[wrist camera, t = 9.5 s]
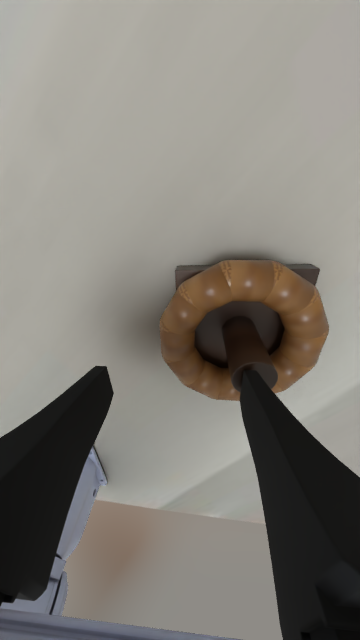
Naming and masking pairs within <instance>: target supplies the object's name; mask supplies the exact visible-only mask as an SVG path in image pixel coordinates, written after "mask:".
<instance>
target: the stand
mask: <svg viewBox="0 0 360 640" xmlns="http://www.w3.org/2000/svg"><path fill="white" fill-rule="evenodd" d="M212 266H213V265H208V266H177V267H176V270H175V277H176V291H177V289H178V287H179V286H180V285H181V284H182V283H183V282H184V281H186V280H188V279H190V278H191V277H193V276H195V275H197V274H199V273H201V272H202V271H204V270H206V269H208V268H210V267H212ZM284 266H286V267H287V268H289V269H290V270H292V271H293V272H295V273H296V274H298V275H299V276H301V277H302V278H304V279H306V280H307V281H309V282H310V283H312V284H313V285H314V286H315V284H316V281H317V278H318V274H319V271H320V269H319V268H317V267H315V266H313V265H311V264H287V265H284ZM284 329H285V328H284V326H283V324H282V321H281V319H280V316H279V314H278V312H276V311H274V310H273V309H271V308H269V307H268V306H266V305H264V304H262V303H261V302H247V301H231V302H229V303H227V304H225V305H223V306H221V307H219V308H216V309H214V310H212V311H210V312H208V313H207V314H206V315H205V317H204V318H203V319H202V321H201V322H200V324H199V325H198V326H197V328H196V329H195V343H194V346H195V348H196V349H197V351H198V352H199V354H200V355H201V357H202V358H203V359H204V360H206V361H208V362H210V363H212V364H214V365H216V366H218V367H220V368H229V372H230V378H231V383H232V385H233V387H234V388H235V389H236V390H237V391H238V392H240V393H241V386H242V380H243V373H244V370H256V371H257V372H258V373H259V374H260V375H261V377H262V378H263V379H264V381H265V382H266V383H267V385H268V386H269V387H270V388H271V389H272V388H273V387H274V386H275V385H276V383H277V381H278V373H277V371H276V369H275V367H274V364H273V362H272V360H271V358H270V355H271V354H272V353H273V352H274V351H275V350H276V349H277V348H278V347H279V346H280V344H281V340H282V336H283V333H284Z"/></svg>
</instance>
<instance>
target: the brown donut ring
mask: <svg viewBox="0 0 360 640" xmlns="http://www.w3.org/2000/svg"><path fill="white" fill-rule="evenodd" d="M231 301H247V302H261V303H262V304H264V305H266V306H268V307H269V308H271V309H273V310H274V311H276V312H278V314H279V316H280V319H281V321H282V324H283V326H284V328H285V329H284V333H283V336H282V340H281V344H280V346H279V347H278V348H277V349H276V350H275V351H274V352H273V353H272V354H271V355H270V358H271V360H272V362H273V364H274V367H275V369H276V371H277V373H278V381H277V383H276V385H275V386H274V387H273V388H272V389H271V390H272V391H273V392H274V393H278V392H282V391H284V390H286V389H288V388H289V387H290V386H291V385H293V384H294V383H295V382H296V381H297V380H299V379H300V378H301V377H302V376H304V375H305V374H306V373H307V372H308V371H310V370H311V369H312V368H313V367H314V366H315V364H316V363H317V360H318V358H319V355H320V353H321V350H322V348H323V345H324V343H325V340H326V337H327V335H328V332H329V324H328V321H327V318H326V314H325V311H324V308H323V305H322V301H321V298H320V295H319V292H318V290H317V288H316V287H315V286H314V285H313V284H312V283H310V282H309V281H307V280H306V279H304V278H302V277H301V276H299V275H298V274H296V273H295V272H293V271H292V270H290V269H289V268H287V267H286V266H284V265H282V264H281V263H279V262H277V261H273V260H224V261H221V262H219V263H217V264H215V265H213V266H212V267H210V268H208V269H206V270H204V271H202V272H201V273H199V274H197V275H195V276H193V277H191V278H190V279H188V280H186V281H184V282H183V283H182V284H181V285H180V286H179V287H178V289H177V291H176V292H175V294H174V296H173V297H172V299H171V301H170V302H169V304H168V306H167V307H166V309H165V311H164V313H163V314H162V316H161V318H160V339H161V353H162V357H163V359H164V361H165V362H166V363H167V365H168V366H169V367H170V369H171V370H172V371H173V372H174V374H175V375H176V376H177V378H178V379H179V380H180V381H181V383H182V384H184V385H185V386H187V387H189V388H191V389H193V390H195V391H197V392H200V393H202V394H204V395H206V396H208V397H210V398H213V399H217V400H236V401H240V392H238V391H237V390H236V389H235V388H234V387H233V385H232V383H231V378H230V372H229V368H220V367H218V366H216V365H214V364H212V363H210V362H208V361H206V360H204V359H203V358H202V357H201V355H200V354H199V352H198V351H197V349H196V348H195V346H194V343H195V329H196V328H197V326H198V325H199V324H200V322H201V321H202V319H203V318H204V317H205V315H206V314H207V313H208V312H210V311H212V310H214V309H216V308H219V307H221V306H223V305H225V304H227V303H229V302H231Z"/></svg>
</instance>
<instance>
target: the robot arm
mask: <svg viewBox="0 0 360 640" xmlns="http://www.w3.org/2000/svg"><path fill="white" fill-rule="evenodd" d="M113 394H114V393H113V389H112V385H111V382H110V378H109V374H108V370H107V366H95V367H94V368H93V369H91V370H90V371H89V372H88V373H86V374H85V375H84V376H83V377H82V378H81V379H79V380H78V381H77V382H76V383H75V384H74V385H72V386H71V387H70V388H69V389H68V390H66V391H65V392H64V393H63V394H62V395H60V396H59V397H58V398H56V399H55V400H54V401H53V402H51V403H50V404H49V405H47V406H46V407H45V408H44V409H42V410H41V411H40V412H38V413H37V414H35V415H34V416H33V417H31V418H30V419H28V420H27V421H25V422H24V423H23V424H21V425H20V426H18V427H17V428H15V429H14V430H12V431H10V432H9V433H7V434H6V435H4V436H2V437H1V438H0V640H240V639H233V638H225V637H218V636H210V635H202V634H195V633H187V632H179V631H172V630H164V629H155V628H148V627H141V626H133V625H125V624H118V623H110V622H103V621H95V620H87V619H80V618H72V617H64V616H62V612H63V609H64V604H65V601H66V596H67V591H68V583H67V573H66V572H65V571H63V569H64V566H65V563H66V561H65V560H66V559H67V558H68V557H69V556H70V554H71V553H72V552H73V551H74V550H75V548H76V547H77V545H78V543H79V541H80V539H81V537H82V535H83V532H84V529H85V526H86V523H87V521H88V518H89V515H90V512H91V509H92V506H93V503H94V501H95V498H96V495H97V492H98V489H99V486H100V485H106V484H107V480H106V477H105V475H104V472H103V470H102V467H101V465H100V462H99V460H98V457H97V455H96V452H95V450H94V448H93V447H92V446H93V444H94V442H95V440H96V438H97V435H98V433H99V431H100V429H101V427H102V424H103V422H104V420H105V418H106V415H107V413H108V410H109V407H110V404H111V401H112V397H113ZM240 404H241V411H242V417H243V422H244V426H245V429H246V433H247V437H248V441H249V445H250V448H251V452H252V456H253V460H254V463H255V467H256V472H257V476H258V481H259V487H260V493H261V498H262V504H263V510H264V516H265V522H266V528H267V534H268V541H269V548H270V555H271V561H272V568H273V575H274V583H275V590H276V597H277V605H278V612H279V620H280V626H281V631H282V637H283V640H360V477H358V476H357V475H356V474H355V473H354V472H353V471H351V470H350V469H349V468H348V467H347V466H345V465H344V464H343V463H342V462H341V461H339V460H338V459H337V458H336V457H335V456H334V455H333V454H332V453H330V452H329V451H328V450H327V449H326V448H325V447H324V446H323V445H322V444H321V443H320V442H319V441H318V440H317V439H316V438H314V437H313V436H312V435H311V434H310V433H309V432H308V431H307V429H306V428H305V427H304V426H303V425H302V424H301V423H300V422H299V421H298V420H297V419H296V418H295V417H294V416H293V415H292V413H291V412H290V411H289V410H288V409H287V408H286V407H285V405H284V404H283V403H282V402H281V401H280V400H279V398H278V397H277V396H276V395H275V393H274V392H273V391H272V390H271V388H270V387H269V386H268V385H267V383H266V382H265V381H264V379H263V378H262V377H261V375H260V374H259V373H258V372H257V371H256V370H244V373H243V380H242V386H241V393H240Z"/></svg>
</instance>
